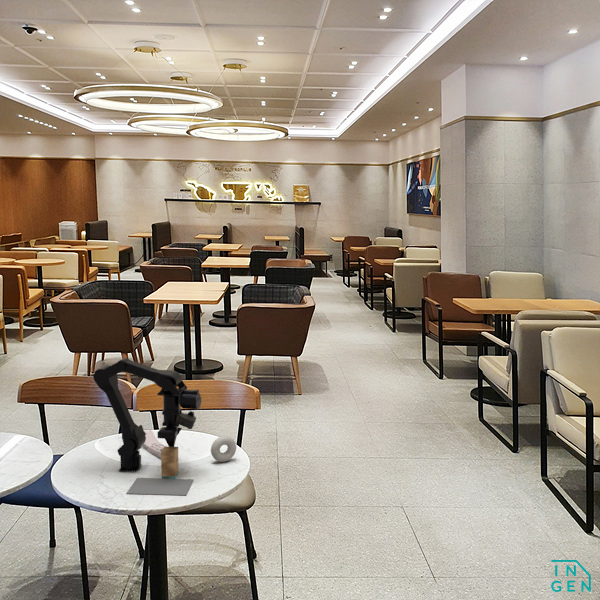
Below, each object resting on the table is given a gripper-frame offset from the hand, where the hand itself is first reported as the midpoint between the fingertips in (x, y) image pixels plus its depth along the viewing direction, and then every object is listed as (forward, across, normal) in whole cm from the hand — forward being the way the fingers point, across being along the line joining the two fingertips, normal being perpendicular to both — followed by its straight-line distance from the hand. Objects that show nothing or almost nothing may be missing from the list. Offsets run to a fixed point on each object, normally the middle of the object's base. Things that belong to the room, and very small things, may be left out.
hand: (172, 449), depth 239 cm
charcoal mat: (+8, -13, +1) cm, 16 cm away
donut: (+9, +11, -17) cm, 22 cm away
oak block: (+9, -4, 0) cm, 9 cm away
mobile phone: (+9, +18, +9) cm, 22 cm away
